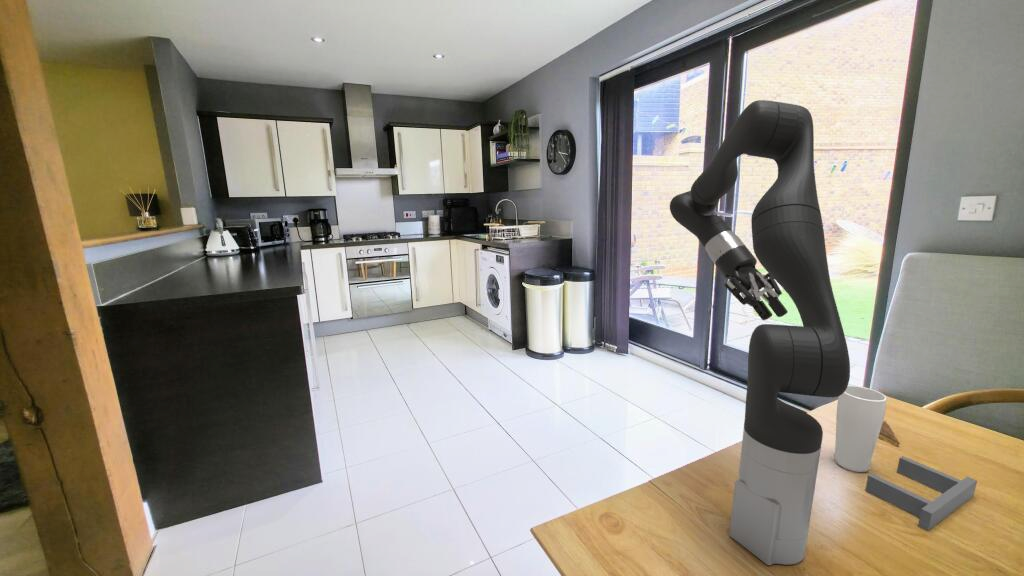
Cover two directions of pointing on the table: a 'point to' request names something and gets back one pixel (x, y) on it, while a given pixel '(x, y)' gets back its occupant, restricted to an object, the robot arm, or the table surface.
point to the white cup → (858, 427)
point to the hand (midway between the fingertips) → (775, 316)
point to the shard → (887, 434)
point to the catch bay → (925, 509)
